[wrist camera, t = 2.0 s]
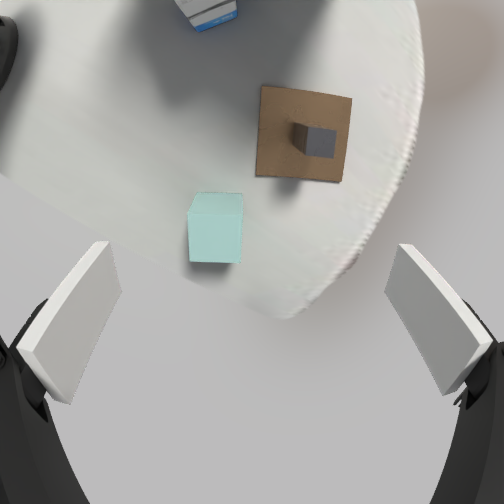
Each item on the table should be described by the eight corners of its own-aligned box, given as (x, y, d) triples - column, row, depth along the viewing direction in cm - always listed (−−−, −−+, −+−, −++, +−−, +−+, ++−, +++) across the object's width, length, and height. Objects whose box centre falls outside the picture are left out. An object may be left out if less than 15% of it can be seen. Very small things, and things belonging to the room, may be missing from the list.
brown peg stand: (255, 174, 31) (259, 192, 25) (261, 86, 26) (267, 80, 20) (340, 180, 32) (363, 200, 25) (350, 98, 27) (378, 99, 21)
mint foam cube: (197, 233, 34) (189, 261, 28) (196, 192, 32) (187, 213, 26) (240, 234, 35) (240, 263, 29) (242, 193, 32) (242, 215, 26)
